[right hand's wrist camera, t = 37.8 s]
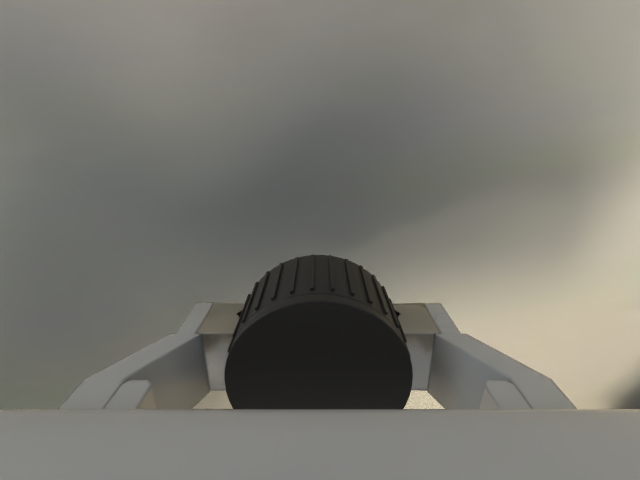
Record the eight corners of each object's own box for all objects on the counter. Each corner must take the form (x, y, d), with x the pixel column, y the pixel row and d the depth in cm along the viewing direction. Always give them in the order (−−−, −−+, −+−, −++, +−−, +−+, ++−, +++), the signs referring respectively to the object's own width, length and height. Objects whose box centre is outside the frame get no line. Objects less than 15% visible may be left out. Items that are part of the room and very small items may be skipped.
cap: (423, 300, 10) (455, 358, 8) (339, 400, 11) (345, 477, 9) (292, 223, 9) (284, 261, 7) (218, 340, 10) (188, 407, 8)
